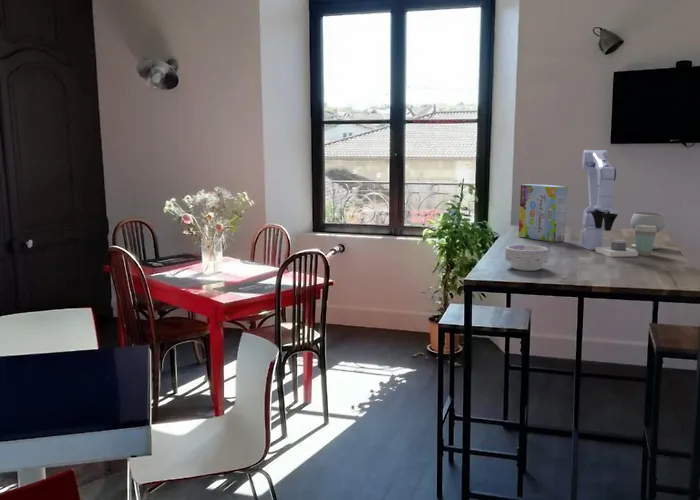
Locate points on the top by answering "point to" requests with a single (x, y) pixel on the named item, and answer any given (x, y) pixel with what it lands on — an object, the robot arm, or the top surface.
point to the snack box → (542, 212)
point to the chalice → (648, 222)
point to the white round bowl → (526, 257)
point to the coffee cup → (645, 239)
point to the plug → (618, 245)
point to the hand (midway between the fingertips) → (602, 229)
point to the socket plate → (616, 252)
